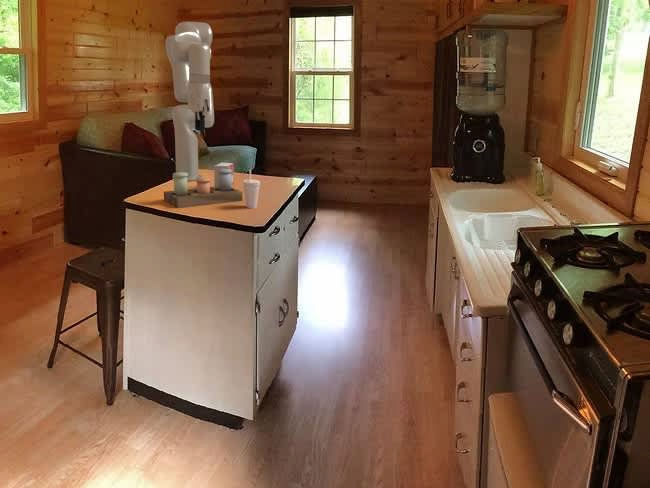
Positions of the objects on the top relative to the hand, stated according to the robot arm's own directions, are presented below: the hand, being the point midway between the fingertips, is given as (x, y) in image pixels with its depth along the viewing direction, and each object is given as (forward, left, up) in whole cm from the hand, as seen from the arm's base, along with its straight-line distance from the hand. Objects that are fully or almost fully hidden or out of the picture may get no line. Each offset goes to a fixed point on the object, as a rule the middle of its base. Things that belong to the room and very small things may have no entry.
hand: (199, 129), depth 232 cm
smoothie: (+22, +10, -26) cm, 35 cm away
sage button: (+5, -10, -23) cm, 25 cm away
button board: (+5, -1, -26) cm, 26 cm away
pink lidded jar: (+5, -1, -25) cm, 26 cm away
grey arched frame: (-9, +15, -26) cm, 31 cm away
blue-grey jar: (+5, +8, -23) cm, 24 cm away
